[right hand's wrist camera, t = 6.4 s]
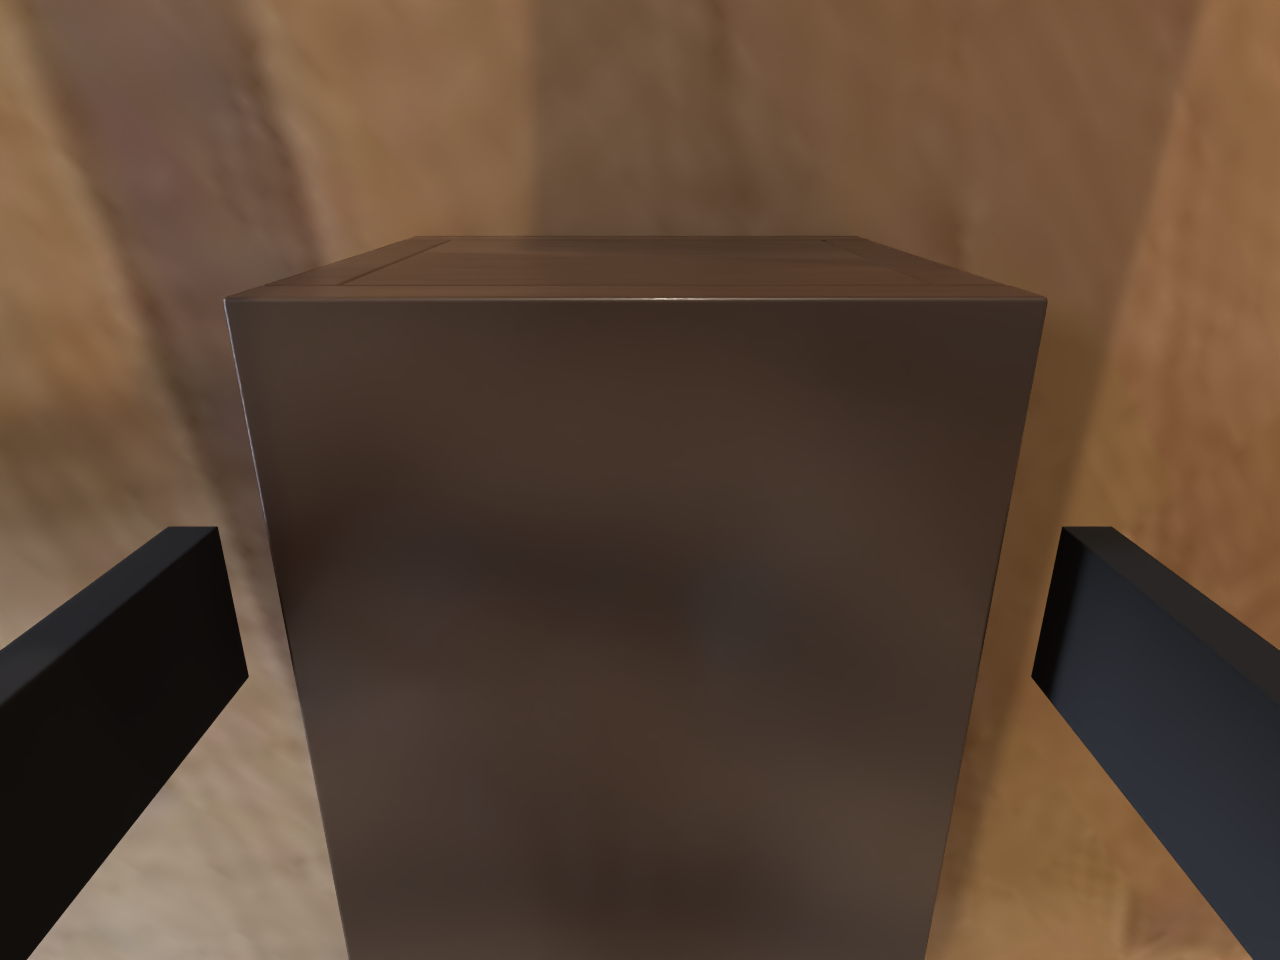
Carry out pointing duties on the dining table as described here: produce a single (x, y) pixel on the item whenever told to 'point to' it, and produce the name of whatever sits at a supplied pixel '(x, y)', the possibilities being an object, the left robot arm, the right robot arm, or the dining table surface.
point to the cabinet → (635, 582)
